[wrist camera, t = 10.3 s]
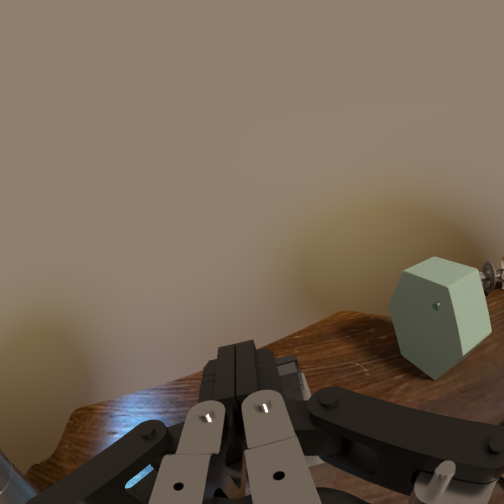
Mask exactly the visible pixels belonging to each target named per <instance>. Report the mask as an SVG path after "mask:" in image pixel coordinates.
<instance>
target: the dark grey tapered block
mask: <svg viewBox="0 0 504 504" xmlns="http://www.w3.org/2000/svg"><path fill="white" fill-rule="evenodd" d="M277 368H278V371H279V375H280V379H281V383H282V387H283V392H284V395H285V396H286V397H288V398H290V399H293V400H304V398H303V394H302V390H301V385H300V381H299V376H298V372H297V369H296V366H295V363H294V362H292V363H288V364H285V365H281V366H277Z"/></svg>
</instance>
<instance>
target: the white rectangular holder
mask: <svg viewBox="0 0 504 504" xmlns="http://www.w3.org/2000/svg"><path fill="white" fill-rule="evenodd" d="M275 360H276V364H277V366H281V365H285V364H288V363H292V362H294V363H295V366H296V369H297V372H298V376H299V381H300V385H301V390H302V394H303V398H304V400H309V398H310V397H311V393H310V390H309V388H308V385H307V382H306V379H305V376H304V373H301V371H300V368H299V365H298V362H297V358H296V355H295V354H293V355H289V356H285V357H282V358H278V359H275ZM304 457H305V460H306V462H307V465H308V468H309V471H310V473H311V476H312V479H313V481H314V484H315V487H321V486H324V485H328V484H331V483H335V482H336V476H335V468H334V466H332V465H330V464H328V463H326V462H324V461H322V460H321V459H320V458H319V456H304Z"/></svg>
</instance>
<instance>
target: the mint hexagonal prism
mask: <svg viewBox="0 0 504 504" xmlns="http://www.w3.org/2000/svg"><path fill="white" fill-rule="evenodd" d="M439 301H440V304H439ZM388 308H389V311H390V314H391V318H392V321H393V325H394V329H395V332H396V336H397V340H398V344H399V348H400V352H401V355H402V356H403V357H405V358H406V359H407V360H408V361H410V362H411V363H412V364H414V365H415V366H416V367H418V368H419V369H420V370H422V371H423V372H424V373H426V374H427V375H428V376H429V377H431V378H432V379H433V380H437V379H438V378H440V377H441V376H442V375H444V374H445V373H447V372H448V371H449V370H451V369H452V368H453V367H455V366H456V365H457V364H459V363H460V362H461V361H463V360H464V359H465V358H466V357H467V356H468V355H469V354H470V353H471V352H472V351H474V350H475V349H476V348H477V347H478V346H479V345H480V344H481V343H482V342H483V341H484V340H485V339H486V338H487V337H488V336H489V335H490V334H491V332H492V330H491V324H490V319H489V313H488V308H487V304H486V299H485V295H484V290H483V286H482V282H481V278H480V275H479V271H478V269H476V268H473V267H469V266H466V265H462V264H459V263H456V262H452V261H448V260H445V259H441V258H438V257H432V258H430V259H428V260H426V261H423V262H421V263H419V264H417V265H415V266H412V267H410V268H408V269H405V270H403V272H402V274H401V277H400V279H399V282H398V284H397V286H396V288H395V290H394V293H393V295H392V297H391V299H390V302H389V304H388Z"/></svg>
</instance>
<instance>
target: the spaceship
mask: <svg viewBox="0 0 504 504" xmlns="http://www.w3.org/2000/svg"><path fill="white" fill-rule="evenodd" d="M500 270H501V271H500V272H499V274H496V272H495V268H494V265H493V264H492V262H490V261H486V262H485V263H484V265H483V268H482V272H479V275H480V278H481V282H482V284H483V287H484V290H485V291H486V292H487V293H489V294H490V293H491V292H493V290H494V288H495V284H496V279H497V278H500V280H502V281H500V280H498V281H500V282H502V289H504V267H503V262H501V269H500ZM487 271H488V272H487ZM498 271H499V270H498ZM489 272H490V273H489ZM487 273H488V274H487ZM487 280H488V284H487ZM487 289H488V290H487Z"/></svg>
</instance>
